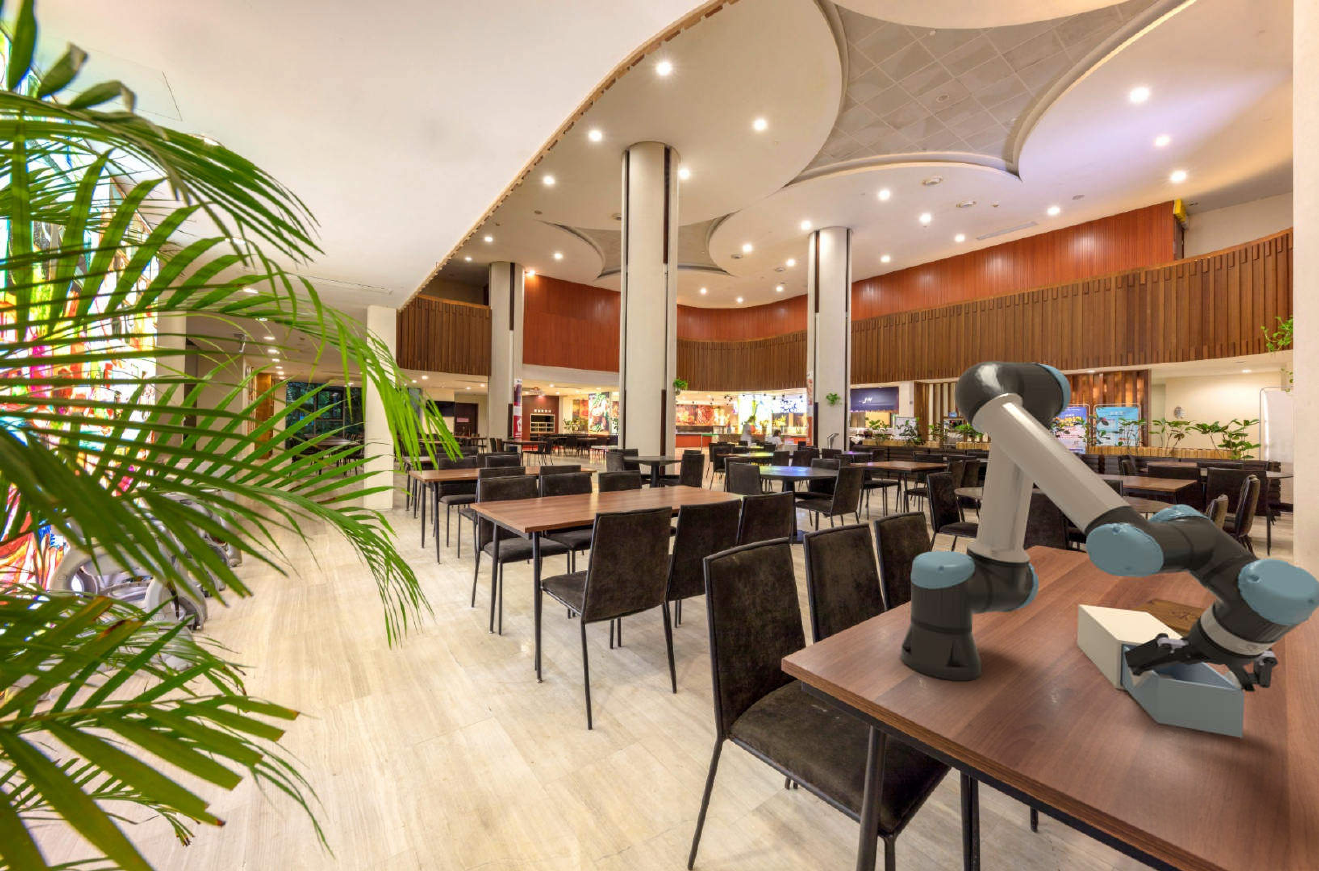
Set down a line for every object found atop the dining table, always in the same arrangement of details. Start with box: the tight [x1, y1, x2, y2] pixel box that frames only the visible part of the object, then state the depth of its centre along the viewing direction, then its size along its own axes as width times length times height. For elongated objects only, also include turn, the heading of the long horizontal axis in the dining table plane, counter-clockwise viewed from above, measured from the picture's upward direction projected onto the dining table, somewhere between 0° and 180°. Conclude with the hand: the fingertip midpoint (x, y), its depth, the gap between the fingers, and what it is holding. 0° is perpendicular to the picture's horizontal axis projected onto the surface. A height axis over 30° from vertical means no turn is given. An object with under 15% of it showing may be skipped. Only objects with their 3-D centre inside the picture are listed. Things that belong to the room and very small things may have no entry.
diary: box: [1129, 598, 1208, 637], centre depth 129 cm, size 23×19×6 cm
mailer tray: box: [1120, 644, 1245, 739], centre depth 97 cm, size 22×11×8 cm, turn 157°
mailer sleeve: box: [1076, 604, 1182, 691], centre depth 110 cm, size 22×13×10 cm, turn 157°
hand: (1175, 686), depth 95 cm, fingers closed on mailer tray, 11 cm apart
